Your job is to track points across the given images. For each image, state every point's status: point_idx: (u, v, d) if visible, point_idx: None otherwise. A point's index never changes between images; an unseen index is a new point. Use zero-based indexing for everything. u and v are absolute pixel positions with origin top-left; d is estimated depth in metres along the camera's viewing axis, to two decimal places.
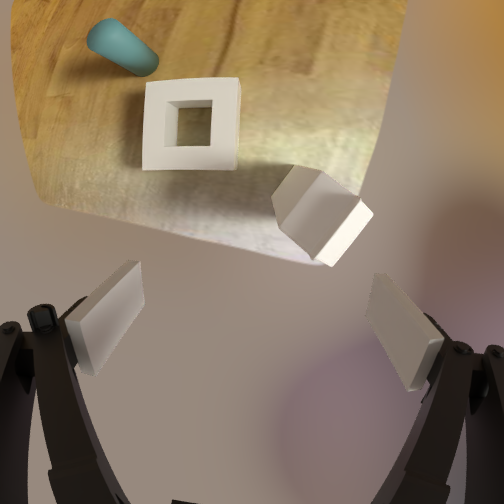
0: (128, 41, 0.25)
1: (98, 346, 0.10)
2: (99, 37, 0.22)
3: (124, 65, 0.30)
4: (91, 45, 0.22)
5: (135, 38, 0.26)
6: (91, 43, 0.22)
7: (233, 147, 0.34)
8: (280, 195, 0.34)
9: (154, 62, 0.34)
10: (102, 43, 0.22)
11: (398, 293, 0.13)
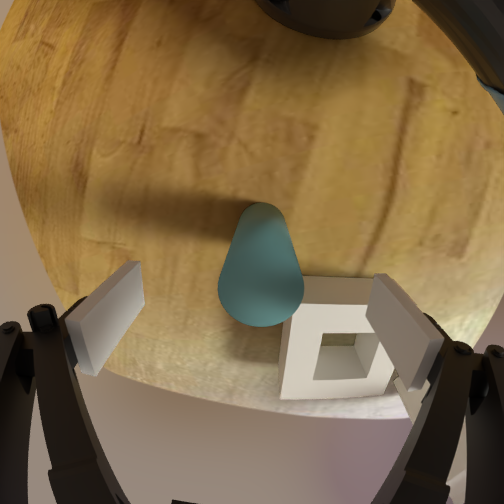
0: None
1: (98, 346, 0.10)
2: (252, 295, 0.15)
3: None
4: (233, 308, 0.16)
5: None
6: (232, 303, 0.15)
7: (389, 377, 0.27)
8: None
9: None
10: (262, 312, 0.16)
11: (398, 293, 0.13)
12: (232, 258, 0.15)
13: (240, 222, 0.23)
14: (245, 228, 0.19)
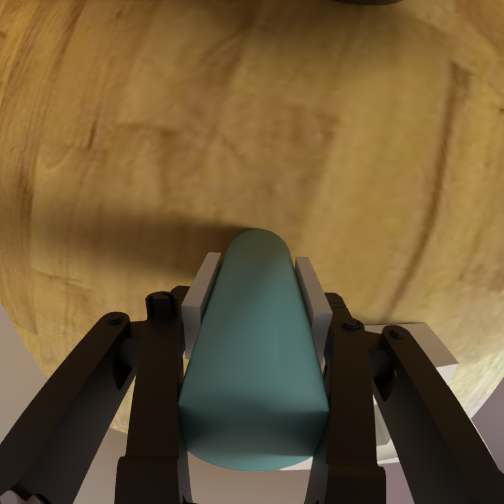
0: None
1: None
2: (236, 441, 0.07)
3: None
4: (204, 452, 0.07)
5: None
6: (201, 447, 0.07)
7: None
8: None
9: None
10: (255, 459, 0.07)
11: (308, 273, 0.15)
12: (192, 391, 0.06)
13: (223, 267, 0.15)
14: (227, 292, 0.11)
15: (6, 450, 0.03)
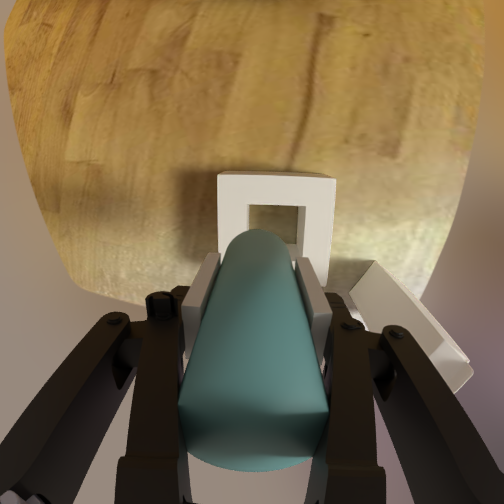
0: None
1: None
2: (235, 442, 0.07)
3: None
4: (203, 453, 0.07)
5: None
6: (201, 448, 0.07)
7: (327, 262, 0.31)
8: (373, 313, 0.31)
9: None
10: (255, 459, 0.07)
11: (308, 273, 0.15)
12: (191, 391, 0.06)
13: (222, 268, 0.15)
14: (226, 292, 0.11)
15: (6, 450, 0.03)
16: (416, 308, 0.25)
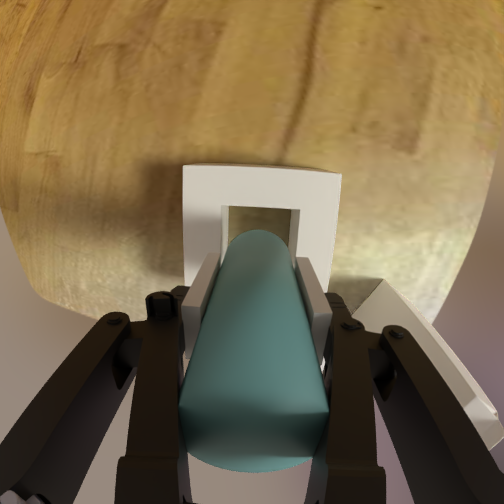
0: None
1: None
2: (236, 443, 0.07)
3: None
4: (204, 454, 0.07)
5: None
6: (202, 449, 0.07)
7: (326, 284, 0.24)
8: None
9: None
10: (255, 460, 0.07)
11: (308, 273, 0.15)
12: (192, 392, 0.06)
13: (223, 268, 0.15)
14: (227, 293, 0.11)
15: (6, 450, 0.03)
16: (439, 348, 0.18)
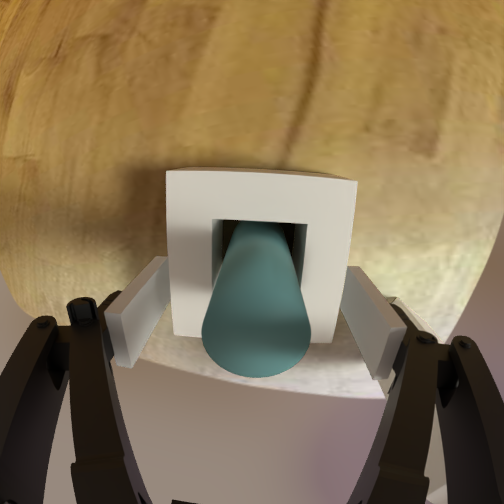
0: None
1: (134, 338, 0.11)
2: (245, 343, 0.12)
3: None
4: (222, 357, 0.12)
5: None
6: (221, 352, 0.12)
7: (336, 310, 0.20)
8: None
9: None
10: (258, 362, 0.12)
11: (367, 284, 0.14)
12: (218, 299, 0.11)
13: (232, 240, 0.20)
14: (237, 251, 0.16)
15: None
16: None
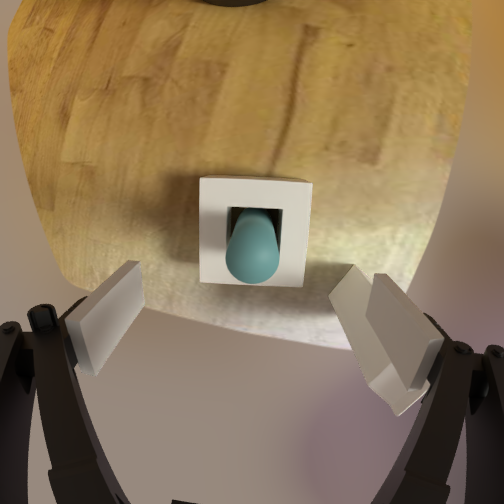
0: None
1: (98, 346, 0.10)
2: (247, 262, 0.25)
3: None
4: (235, 271, 0.25)
5: (275, 237, 0.29)
6: (234, 268, 0.25)
7: (304, 264, 0.33)
8: (349, 315, 0.33)
9: None
10: (253, 273, 0.25)
11: (398, 293, 0.13)
12: (234, 238, 0.24)
13: (238, 219, 0.32)
14: (242, 222, 0.29)
15: None
16: None
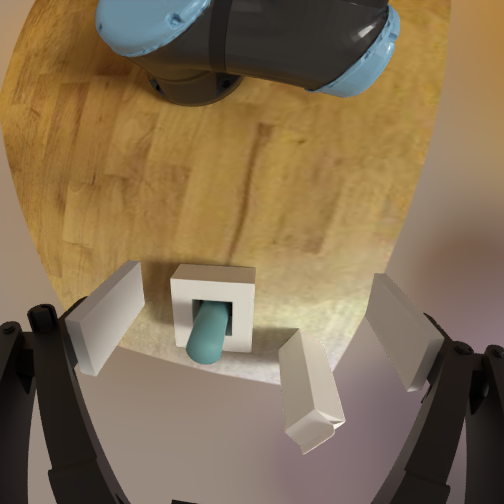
0: None
1: (98, 346, 0.10)
2: (200, 352, 0.35)
3: None
4: (193, 356, 0.35)
5: (224, 327, 0.39)
6: (192, 355, 0.35)
7: (250, 337, 0.43)
8: (286, 373, 0.43)
9: None
10: (205, 358, 0.35)
11: (398, 293, 0.13)
12: (190, 338, 0.34)
13: (201, 306, 0.43)
14: (200, 316, 0.39)
15: None
16: (308, 379, 0.37)
